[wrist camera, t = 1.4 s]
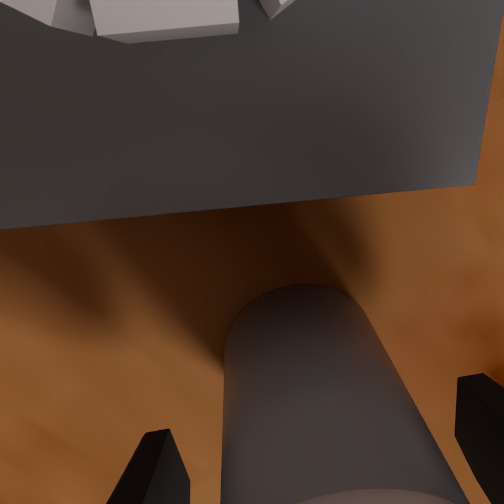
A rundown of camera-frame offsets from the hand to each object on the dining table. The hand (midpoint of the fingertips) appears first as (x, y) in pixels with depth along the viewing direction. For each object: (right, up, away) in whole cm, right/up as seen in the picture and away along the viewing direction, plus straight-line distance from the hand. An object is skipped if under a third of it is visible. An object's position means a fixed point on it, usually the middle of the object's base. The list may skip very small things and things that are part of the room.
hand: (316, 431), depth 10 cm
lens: (0, +1, +3) cm, 3 cm away
